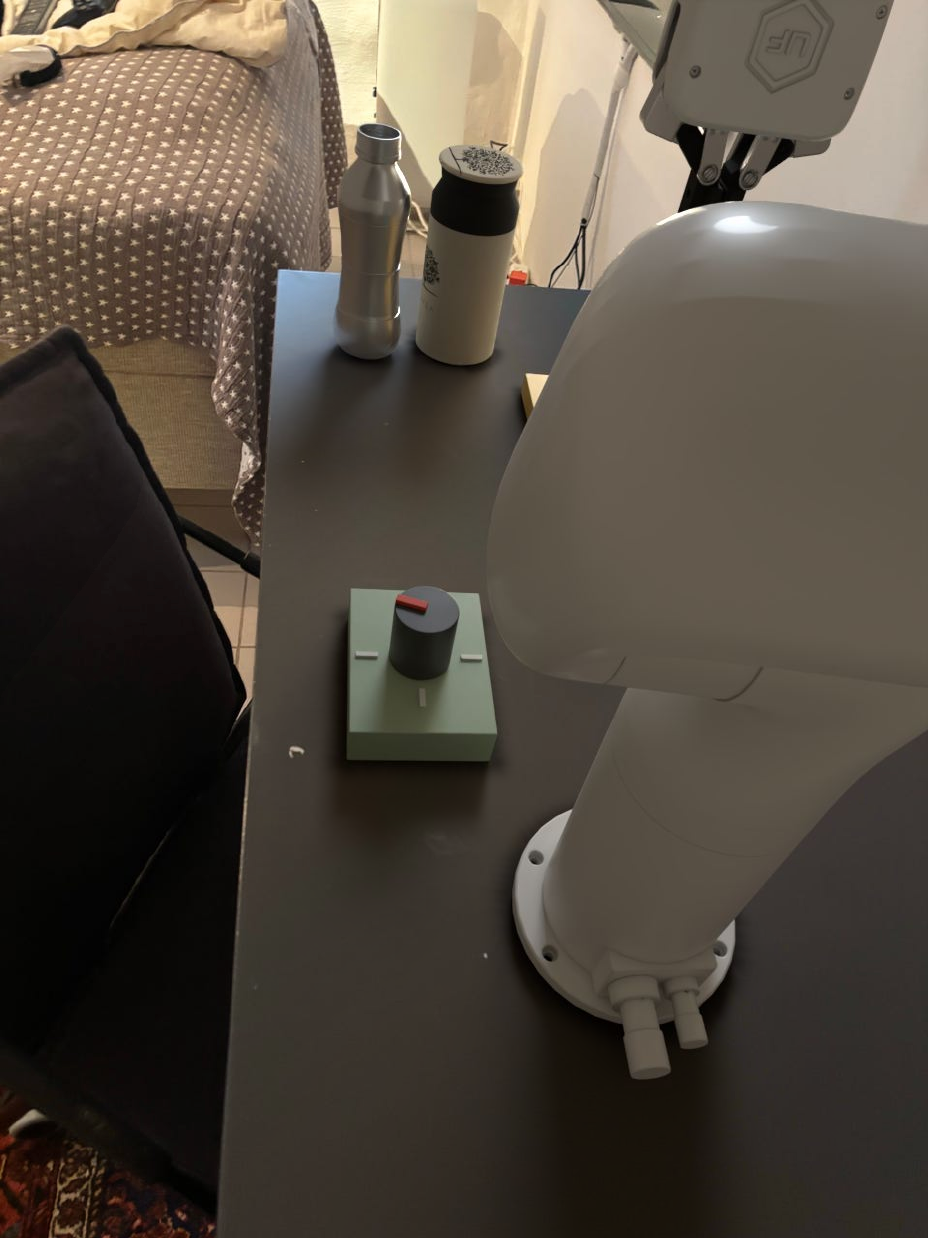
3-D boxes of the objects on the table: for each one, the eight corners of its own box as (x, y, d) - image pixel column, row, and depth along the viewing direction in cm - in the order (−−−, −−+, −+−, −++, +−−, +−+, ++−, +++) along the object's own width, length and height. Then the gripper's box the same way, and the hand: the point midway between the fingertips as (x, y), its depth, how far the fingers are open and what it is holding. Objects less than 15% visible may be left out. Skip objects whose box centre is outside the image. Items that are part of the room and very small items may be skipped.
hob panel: (489, 761, 55) (498, 732, 53) (346, 760, 54) (348, 730, 52) (472, 621, 63) (479, 591, 61) (347, 617, 62) (349, 586, 60)
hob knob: (457, 643, 58) (467, 592, 54) (440, 688, 55) (450, 637, 52) (399, 626, 58) (406, 574, 55) (380, 670, 55) (386, 618, 52)
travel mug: (489, 330, 92) (521, 149, 79) (495, 371, 87) (531, 184, 74) (414, 322, 91) (434, 137, 78) (416, 364, 86) (438, 172, 73)
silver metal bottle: (374, 375, 83) (391, 153, 69) (317, 348, 85) (322, 126, 71) (412, 350, 88) (435, 135, 73) (357, 325, 89) (369, 110, 75)
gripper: (696, -175, 35) (586, 264, 49) (1022, -113, 38) (833, 289, 51) (653, -196, 40) (564, 207, 54) (944, -140, 43) (790, 233, 56)
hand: (695, 246), depth 52 cm, fingers closed
